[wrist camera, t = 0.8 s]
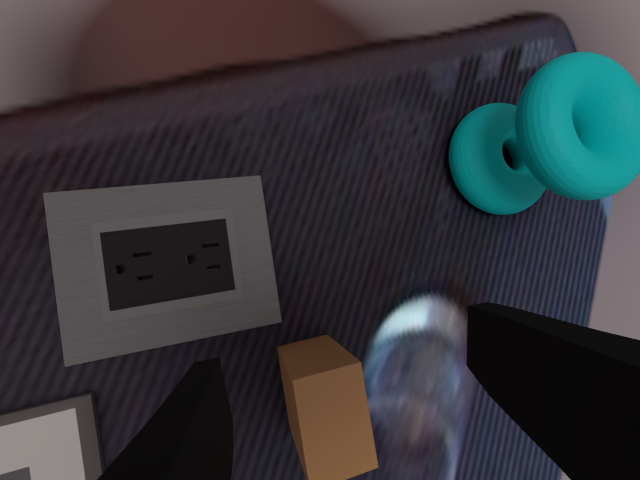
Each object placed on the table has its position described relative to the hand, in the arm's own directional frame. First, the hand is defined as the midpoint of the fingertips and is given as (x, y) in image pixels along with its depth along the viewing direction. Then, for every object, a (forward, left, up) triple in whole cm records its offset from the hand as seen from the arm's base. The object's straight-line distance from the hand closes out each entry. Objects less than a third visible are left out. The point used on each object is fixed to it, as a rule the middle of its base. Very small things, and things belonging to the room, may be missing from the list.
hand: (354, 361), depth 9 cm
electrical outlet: (+4, +7, -16) cm, 18 cm away
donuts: (+9, -21, -16) cm, 28 cm away
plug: (-6, -1, -16) cm, 17 cm away
